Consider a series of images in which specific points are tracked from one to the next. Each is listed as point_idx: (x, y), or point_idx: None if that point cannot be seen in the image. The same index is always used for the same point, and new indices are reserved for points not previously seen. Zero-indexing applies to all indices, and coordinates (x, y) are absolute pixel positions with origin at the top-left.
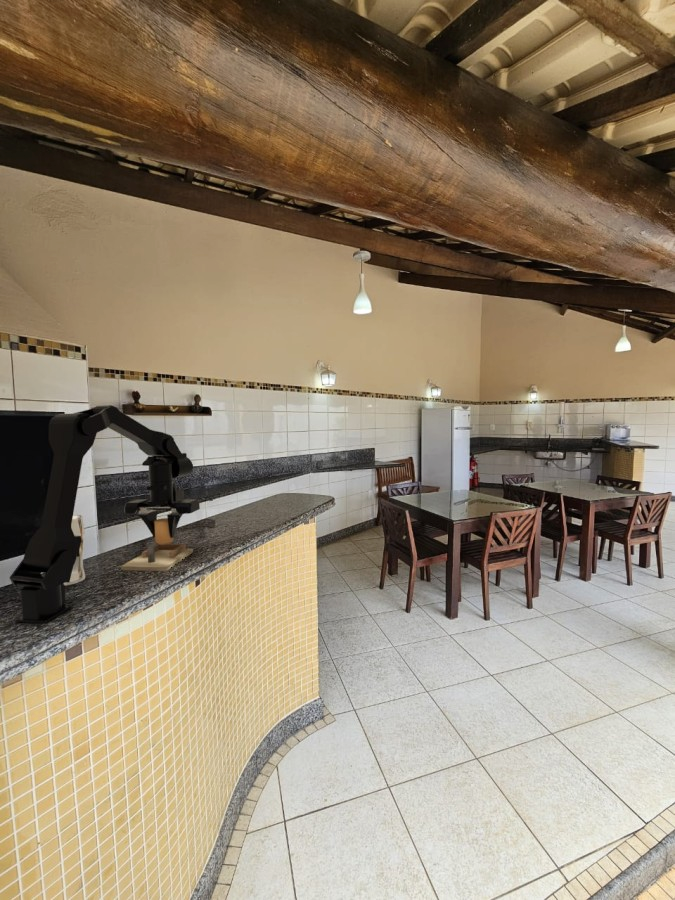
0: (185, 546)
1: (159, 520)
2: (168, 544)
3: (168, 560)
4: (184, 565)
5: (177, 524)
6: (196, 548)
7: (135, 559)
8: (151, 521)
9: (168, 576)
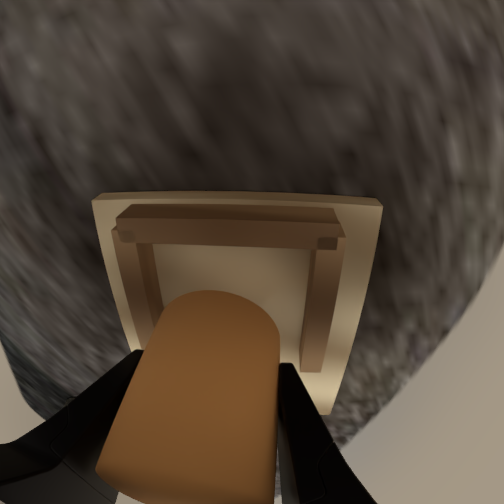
0: (342, 232)
1: (153, 497)
2: (205, 241)
3: (309, 373)
4: (381, 363)
5: (335, 449)
6: (370, 113)
7: None
8: (107, 488)
9: (349, 424)
